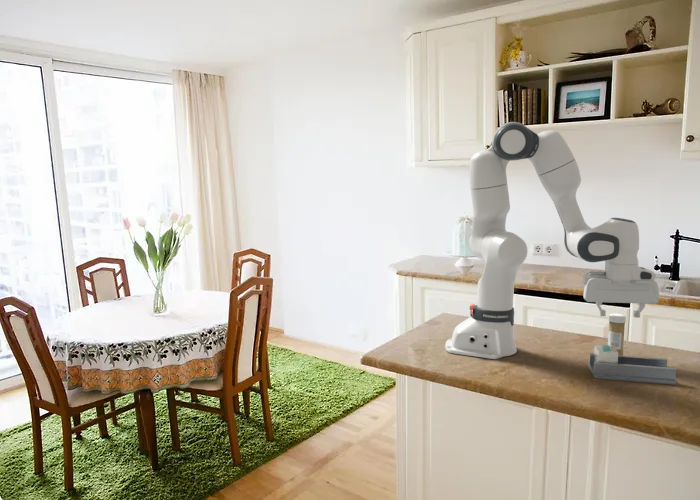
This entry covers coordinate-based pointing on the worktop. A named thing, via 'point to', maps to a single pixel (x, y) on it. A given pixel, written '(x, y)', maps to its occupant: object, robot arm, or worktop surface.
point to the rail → (629, 367)
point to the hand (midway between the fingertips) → (619, 316)
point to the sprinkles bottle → (616, 332)
